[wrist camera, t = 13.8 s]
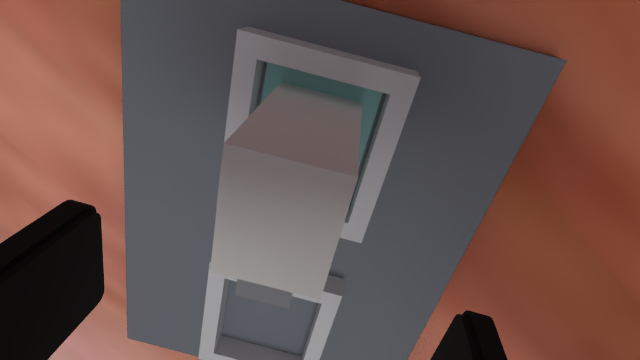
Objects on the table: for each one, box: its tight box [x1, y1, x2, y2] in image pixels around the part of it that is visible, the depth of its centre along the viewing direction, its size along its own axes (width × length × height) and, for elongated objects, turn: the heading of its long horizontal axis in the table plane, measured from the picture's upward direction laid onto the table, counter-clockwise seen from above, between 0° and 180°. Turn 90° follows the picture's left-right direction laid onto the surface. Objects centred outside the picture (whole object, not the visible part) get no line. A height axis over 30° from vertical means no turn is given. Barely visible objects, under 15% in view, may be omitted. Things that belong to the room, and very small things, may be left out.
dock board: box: [121, 0, 566, 360], centre depth 22 cm, size 20×26×2 cm
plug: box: [210, 82, 363, 309], centre depth 16 cm, size 4×6×8 cm
